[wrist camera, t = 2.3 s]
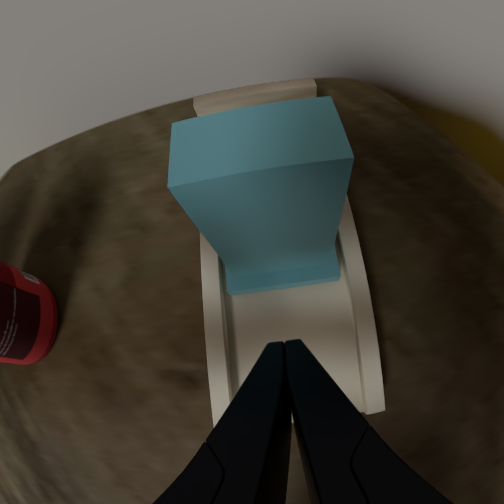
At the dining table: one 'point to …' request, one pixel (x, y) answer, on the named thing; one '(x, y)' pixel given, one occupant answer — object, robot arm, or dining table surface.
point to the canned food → (25, 317)
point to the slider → (266, 189)
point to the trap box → (290, 298)
